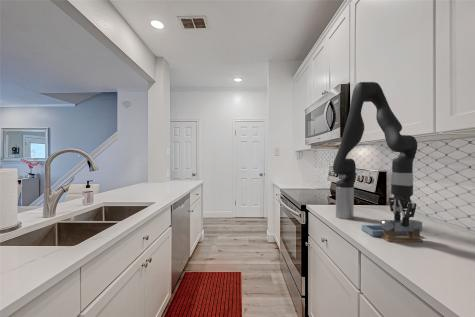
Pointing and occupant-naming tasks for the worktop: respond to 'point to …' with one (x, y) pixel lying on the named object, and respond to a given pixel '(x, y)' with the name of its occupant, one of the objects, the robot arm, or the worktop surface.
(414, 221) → the steel dumbbell
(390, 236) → the wooden plank with blocks
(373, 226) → the slate-blue tray
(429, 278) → the worktop surface
